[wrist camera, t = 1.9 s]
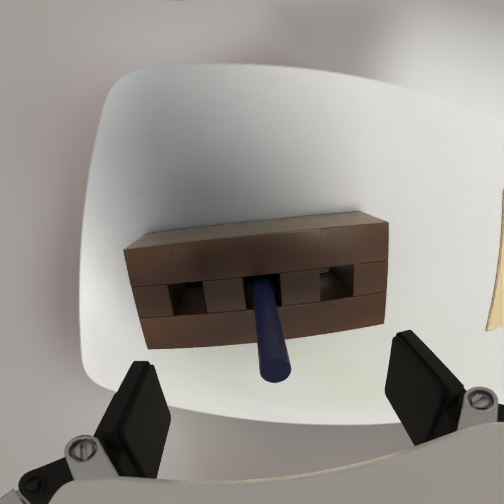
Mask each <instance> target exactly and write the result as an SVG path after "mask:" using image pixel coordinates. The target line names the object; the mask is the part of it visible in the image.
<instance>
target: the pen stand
mask: <svg viewBox="0 0 504 504" xmlns="http://www.w3.org/2000/svg"><path fill="white" fill-rule="evenodd" d="M388 242H389V223H388V222H386V221H384V220H381V219H379V218H376V217H374V216H371V215H368V214H366V213H363V212H361V211H358V212H345V213H333V214H321V215H310V216H299V217H288V218H277V219H267V220H257V221H248V222H238V223H229V224H220V225H211V226H202V227H194V228H185V229H177V230H169V231H161V232H153V233H147V234H145V235H144V236H142V237H141V238H139V239H138V240H136V241H135V242H134V243H132V244H131V245H129V246H128V247H127V248H125V249H124V250H123V251H124V256H125V261H126V266H127V270H128V275H129V279H130V284H131V287H132V292H133V296H134V300H135V304H136V308H137V312H138V316H139V317H140V318H139V320H140V324H141V327H142V331H143V334H144V338H145V341H146V345H147V348H148V349H173V348H193V347H209V346H223V345H235V344H246V343H257V333H256V322H255V310H254V298H253V286H252V282H246V278H245V277H246V276H256V275H265V274H274V280H270V282H271V286H272V290H273V294H274V298H275V302H276V307H277V311H278V315H279V319H280V323H281V327H282V331H283V336H284V339H292V338H299V337H307V336H314V335H321V334H327V333H334V332H340V331H346V330H352V329H358V328H363V327H369V326H374V325H379V324H384V318H385V306H386V291H387V274H388ZM327 267H333V273H326V274H320V269H319V268H327ZM195 281H202V283H203V287H193V288H186V282H195Z"/></svg>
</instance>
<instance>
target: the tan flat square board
mask: <svg viewBox="0 0 504 504" xmlns="http://www.w3.org/2000/svg"><path fill="white" fill-rule="evenodd" d="M501 326H504V190H503V215H502V232H501V244H500V254H499V262H498V269H497V276H496V283H495V289H494V294H493V299H492V304H491V309H490V314H489V318H488V323H487V327H486V331H487V332H488V331H491V330H494V329H496V328H499V327H501Z"/></svg>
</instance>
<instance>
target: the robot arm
mask: <svg viewBox="0 0 504 504" xmlns="http://www.w3.org/2000/svg"><path fill="white" fill-rule="evenodd" d="M463 387H464V385H463V384H462V383H461V382H460V381H459V380H458V379H457V378H456V377H455V376H454V375H453V373H452V372H451V371H450V370H449V369H448V368H447V367H446V366H445V365H444V364H443V363H442V362H441V361H440V359H439V358H438V357H437V356H436V355H435V354H434V353H433V352H432V351H431V350H430V349H429V348H428V347H427V346H426V345H425V344H424V343H423V342H422V341H421V340H420V339H419V337H418V336H417V335H416V334H415V333H414V332H413V331H411V330H407V331H403V332H398V333H397V334H396V337H394V338H393V340H392V346H391V354H390V360H389V367H388V373H387V379H386V385H385V394H386V397H387V399H388V400H389V402H390V404H391V405H392V407H393V409H394V410H395V412H396V414H397V416H398V417H399V419H400V421H401V423H402V424H403V426H404V428H405V430H406V431H407V433H408V435H409V437H410V438H411V440H412V442H413V444H414V447H411V448H408V449H405V450H402V451H399V452H396V453H392V454H389V455H386V456H382V457H379V458H375V459H372V460H368V461H364V462H360V463H356V464H352V465H347V466H343V467H338V468H333V469H328V470H323V471H317V472H311V473H305V474H298V475H291V476H284V477H274V478H263V479H251V480H231V481H187V480H164V479H156V478H157V474H158V470H159V466H160V462H161V457H162V454H163V449H164V445H165V441H166V437H167V433H168V430H169V426H170V422H171V415H170V412H169V409H168V406H167V403H166V400H165V397H164V395H163V392H162V389H161V386H160V383H159V380H158V377H157V373H156V370H155V367H154V365H150V363H149V362H148V361H134V362H133V363H132V365H131V367H130V369H129V370H128V372H127V374H126V376H125V378H124V380H123V382H122V384H121V386H120V388H119V389H118V391H117V393H116V394H115V395H114V396H113V398H112V400H111V402H110V404H109V406H108V408H107V410H106V412H105V414H104V416H103V418H102V420H101V422H100V424H99V426H98V428H97V430H96V432H95V434H94V436H90V435H81V436H78V437H75V438H73V439H72V440H70V441H69V442H68V443H67V445H66V447H65V450H64V453H65V457H64V458H62V459H60V460H57V461H55V462H52V463H50V464H47V465H45V466H42V467H40V468H37V469H35V470H32V471H29V472H27V473H26V474H24V475H23V476H22V477H21V479H20V481H19V485H18V486H19V490H17V491H15V490H14V489H12V490H11V491H10V492H8V493H7V494H5V495H4V496H2V497H1V498H0V504H504V405H502V404H498V397H497V395H496V394H495V393H494V392H493V391H492V390H490V389H488V388H485V387H474V388H471V389H469V390H468V391H466V390H465V389H464V388H463Z"/></svg>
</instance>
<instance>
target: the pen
mask: <svg viewBox="0 0 504 504" xmlns="http://www.w3.org/2000/svg"><path fill="white" fill-rule="evenodd" d="M252 286H253V298H254V310H255V322H256V333H257V345H258V357H259V368H260V375H261V377H262V378H263V379H264V380H266V381H268V382H271V383H277V382H281V381H283V380H285V379H286V378H287V377H288V376H289V375H290V373H291V365H290V361H289V356H288V352H287V348H286V344H285V340H284V336H283V331H282V327H281V323H280V319H279V315H278V311H277V307H276V302H275V298H274V294H273V290H272V286H271V282H270V278H269V274H265V275H256V276H252Z"/></svg>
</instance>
